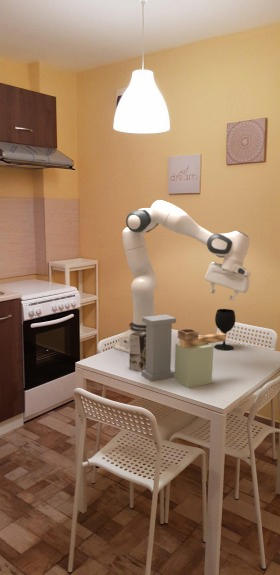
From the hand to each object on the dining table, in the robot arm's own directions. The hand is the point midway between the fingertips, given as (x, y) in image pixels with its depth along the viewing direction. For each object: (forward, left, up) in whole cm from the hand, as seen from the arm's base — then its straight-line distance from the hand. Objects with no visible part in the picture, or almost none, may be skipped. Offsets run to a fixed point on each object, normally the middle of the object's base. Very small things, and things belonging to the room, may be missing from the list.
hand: (221, 296), depth 202 cm
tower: (-19, -26, -33) cm, 46 cm away
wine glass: (-7, +29, -33) cm, 44 cm away
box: (-3, -24, -33) cm, 41 cm away
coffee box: (-31, -20, -33) cm, 49 cm away
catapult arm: (-1, -20, -17) cm, 26 cm away
